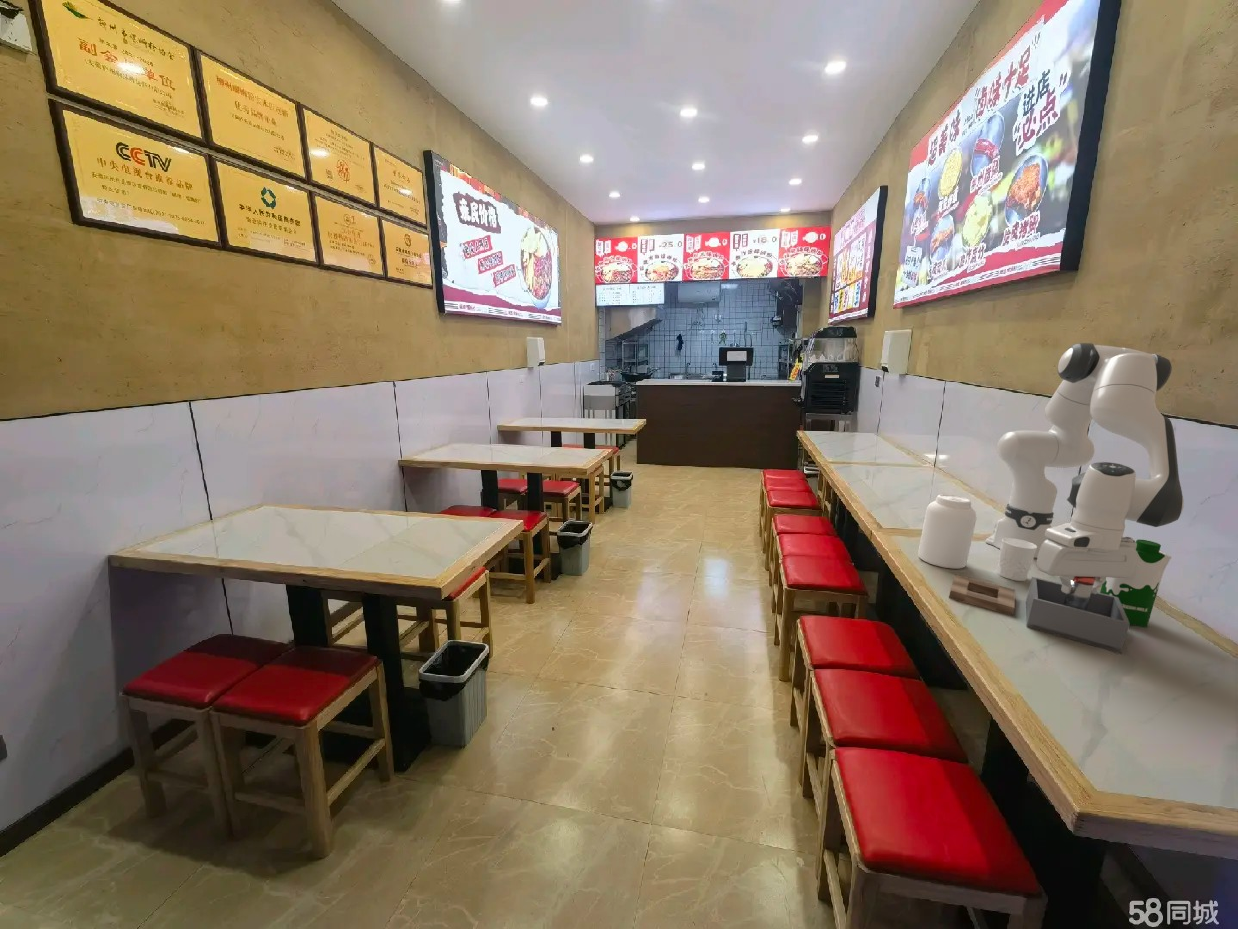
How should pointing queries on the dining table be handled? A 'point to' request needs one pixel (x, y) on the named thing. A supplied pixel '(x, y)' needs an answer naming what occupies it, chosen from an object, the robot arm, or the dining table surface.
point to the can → (947, 532)
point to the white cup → (1015, 558)
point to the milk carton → (1139, 583)
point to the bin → (1077, 616)
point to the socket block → (1000, 604)
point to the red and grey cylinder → (1080, 593)
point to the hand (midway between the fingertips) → (1078, 593)
